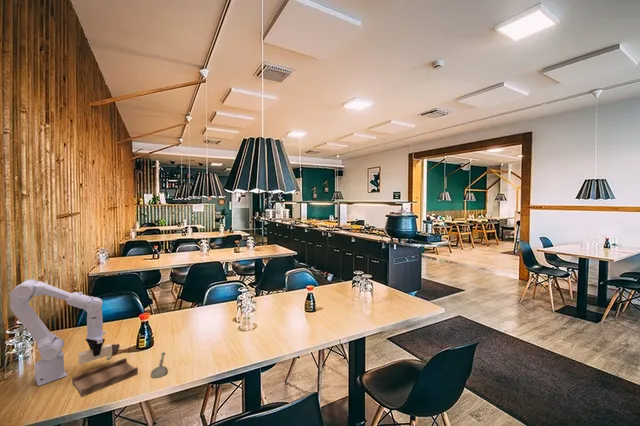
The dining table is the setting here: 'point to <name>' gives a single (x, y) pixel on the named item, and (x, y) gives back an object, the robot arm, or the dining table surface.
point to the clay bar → (89, 356)
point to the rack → (103, 376)
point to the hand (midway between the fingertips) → (95, 354)
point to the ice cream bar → (113, 350)
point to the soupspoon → (159, 370)
